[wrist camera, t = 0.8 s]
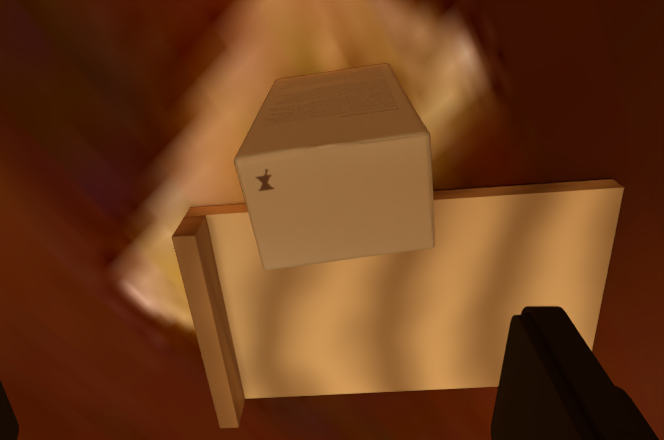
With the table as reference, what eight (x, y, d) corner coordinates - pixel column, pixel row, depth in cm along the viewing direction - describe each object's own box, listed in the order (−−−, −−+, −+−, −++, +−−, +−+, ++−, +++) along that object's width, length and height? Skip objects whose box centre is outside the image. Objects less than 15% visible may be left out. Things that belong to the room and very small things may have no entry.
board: (613, 178, 28) (648, 206, 25) (577, 369, 34) (602, 410, 31) (190, 207, 29) (171, 237, 26) (231, 386, 35) (220, 428, 32)
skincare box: (289, 156, 27) (257, 274, 17) (274, 78, 26) (227, 155, 15) (399, 141, 27) (438, 253, 16) (392, 60, 25) (431, 126, 14)
